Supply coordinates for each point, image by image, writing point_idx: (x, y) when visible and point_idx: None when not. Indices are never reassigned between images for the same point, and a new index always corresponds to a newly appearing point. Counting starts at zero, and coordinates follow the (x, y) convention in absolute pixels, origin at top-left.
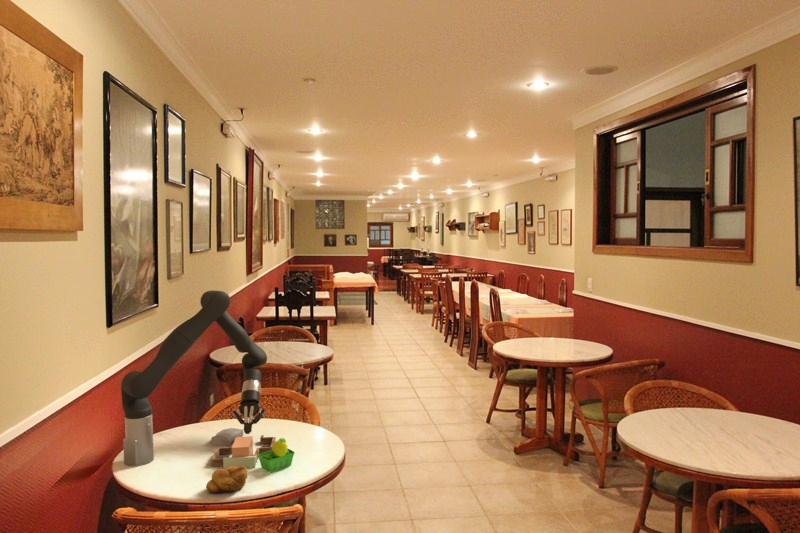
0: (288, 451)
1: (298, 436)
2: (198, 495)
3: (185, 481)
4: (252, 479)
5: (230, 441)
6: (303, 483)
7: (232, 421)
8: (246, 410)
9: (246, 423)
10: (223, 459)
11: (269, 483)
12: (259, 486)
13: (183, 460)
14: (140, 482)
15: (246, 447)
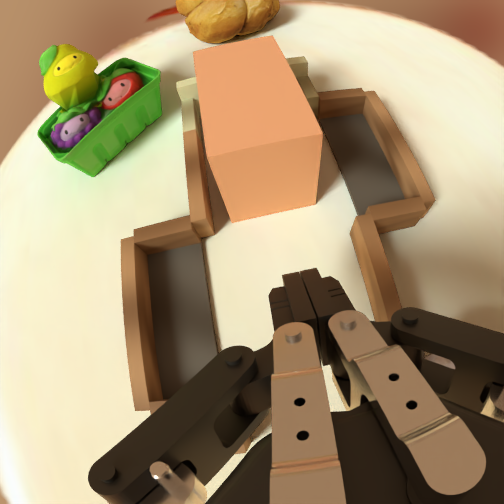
0: (52, 126)
1: (73, 486)
2: (291, 9)
3: (372, 43)
4: (181, 63)
5: (432, 355)
6: None
7: None
8: (412, 429)
9: (331, 312)
10: (302, 59)
11: None
12: (158, 48)
13: (497, 161)
14: (468, 54)
15: (204, 51)
